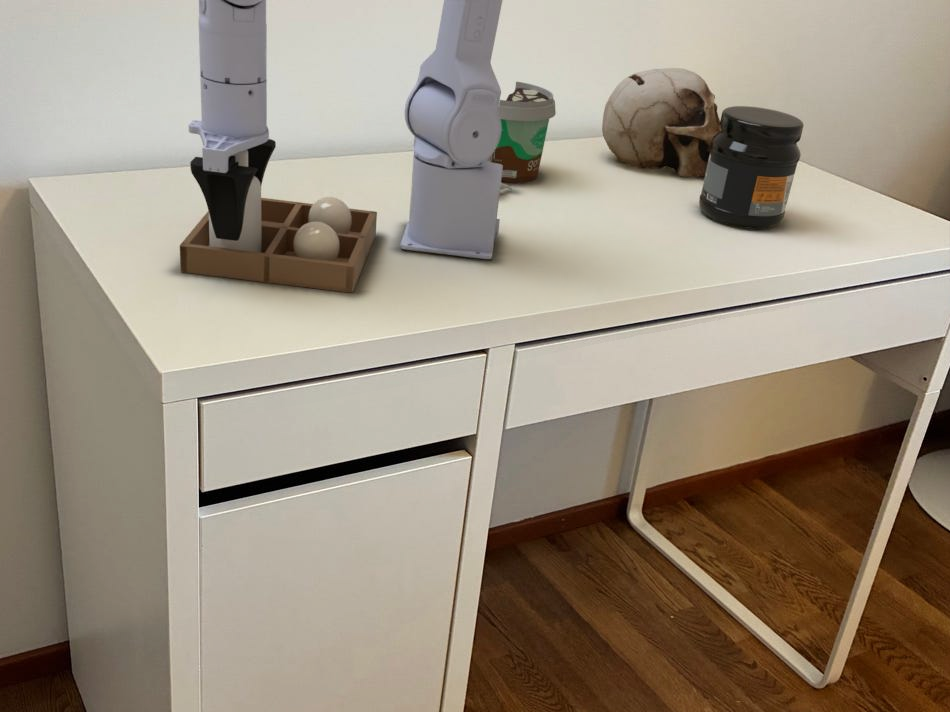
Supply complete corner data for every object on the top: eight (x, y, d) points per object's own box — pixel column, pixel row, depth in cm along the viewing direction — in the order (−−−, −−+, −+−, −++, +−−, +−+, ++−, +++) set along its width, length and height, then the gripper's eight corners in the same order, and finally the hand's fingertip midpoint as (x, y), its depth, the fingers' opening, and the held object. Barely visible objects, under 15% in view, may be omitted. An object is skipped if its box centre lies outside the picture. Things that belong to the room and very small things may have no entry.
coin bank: (749, 170, 154) (764, 69, 146) (672, 201, 144) (683, 95, 136) (659, 144, 163) (669, 48, 155) (581, 171, 153) (587, 70, 145)
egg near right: (342, 262, 108) (344, 218, 106) (335, 278, 105) (336, 233, 102) (297, 256, 108) (298, 212, 106) (288, 272, 105) (289, 227, 102)
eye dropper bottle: (199, 257, 107) (195, 129, 100) (254, 250, 109) (253, 126, 103) (217, 273, 104) (214, 143, 97) (272, 266, 107) (273, 139, 100)
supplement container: (799, 230, 134) (827, 128, 128) (727, 233, 130) (751, 128, 124) (750, 201, 142) (774, 104, 135) (680, 203, 138) (701, 103, 131)
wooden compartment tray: (375, 235, 117) (377, 211, 115) (352, 293, 103) (353, 266, 102) (223, 217, 117) (223, 192, 115) (180, 272, 103) (179, 245, 102)
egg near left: (354, 236, 115) (356, 194, 112) (347, 250, 111) (349, 207, 109) (311, 231, 115) (312, 188, 112) (303, 245, 111) (304, 202, 109)
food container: (538, 193, 135) (550, 108, 130) (489, 184, 136) (498, 100, 131) (553, 167, 146) (564, 87, 140) (507, 159, 146) (516, 80, 141)
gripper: (209, 55, 103) (213, 198, 111) (164, 89, 91) (171, 248, 99) (284, 64, 103) (283, 207, 111) (249, 100, 91) (250, 257, 99)
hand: (235, 227), depth 105 cm, fingers closed on eye dropper bottle, 5 cm apart
